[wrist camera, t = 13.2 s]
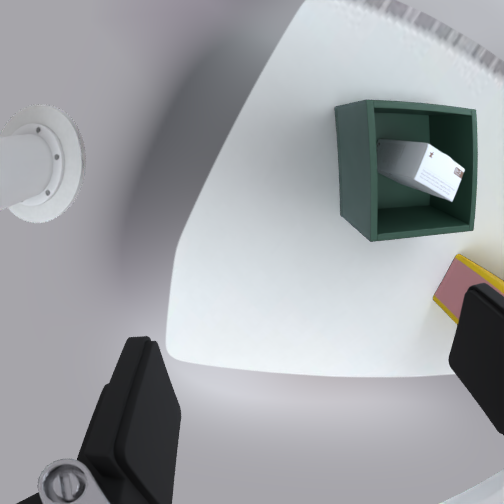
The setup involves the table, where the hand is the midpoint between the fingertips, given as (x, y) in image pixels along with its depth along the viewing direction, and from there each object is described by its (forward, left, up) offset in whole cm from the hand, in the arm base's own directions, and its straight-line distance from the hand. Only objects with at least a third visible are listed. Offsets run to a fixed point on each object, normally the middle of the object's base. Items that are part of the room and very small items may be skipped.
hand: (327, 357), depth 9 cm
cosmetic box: (+18, +1, -34) cm, 38 cm away
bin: (+18, +1, -34) cm, 39 cm away
